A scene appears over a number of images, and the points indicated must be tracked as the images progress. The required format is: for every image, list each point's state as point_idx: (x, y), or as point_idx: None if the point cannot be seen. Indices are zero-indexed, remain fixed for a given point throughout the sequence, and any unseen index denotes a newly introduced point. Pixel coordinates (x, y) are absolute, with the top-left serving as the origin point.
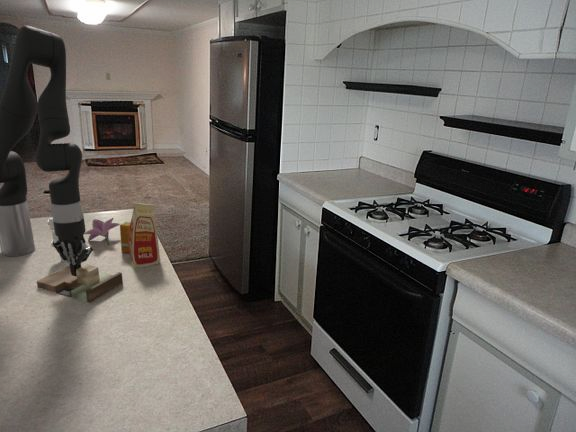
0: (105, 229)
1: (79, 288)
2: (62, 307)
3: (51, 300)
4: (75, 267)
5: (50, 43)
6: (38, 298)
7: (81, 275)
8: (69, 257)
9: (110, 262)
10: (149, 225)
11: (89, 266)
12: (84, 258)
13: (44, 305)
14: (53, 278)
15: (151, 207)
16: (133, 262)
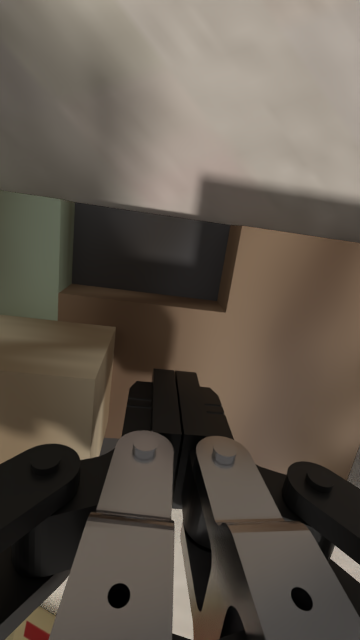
0: None
1: (32, 258)
2: (23, 46)
3: (181, 120)
4: (146, 422)
5: None
6: (289, 117)
7: (36, 351)
8: (213, 513)
9: (186, 597)
10: None
11: None
12: (16, 566)
13: (175, 31)
14: (333, 327)
15: None
16: (12, 637)
